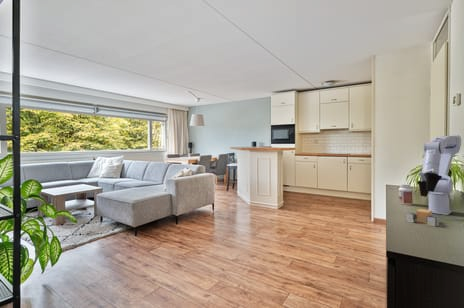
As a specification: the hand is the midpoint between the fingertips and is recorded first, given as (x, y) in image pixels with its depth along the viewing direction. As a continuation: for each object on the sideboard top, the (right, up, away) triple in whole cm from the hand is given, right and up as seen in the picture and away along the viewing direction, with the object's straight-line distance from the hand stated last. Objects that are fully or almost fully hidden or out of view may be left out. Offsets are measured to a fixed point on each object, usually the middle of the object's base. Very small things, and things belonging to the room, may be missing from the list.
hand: (426, 193), depth 104 cm
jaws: (-6, -11, -5) cm, 13 cm away
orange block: (-3, -11, -3) cm, 12 cm away
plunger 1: (-8, -11, -3) cm, 14 cm away
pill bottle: (+12, -11, +29) cm, 34 cm away
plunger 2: (-5, -11, -7) cm, 14 cm away
